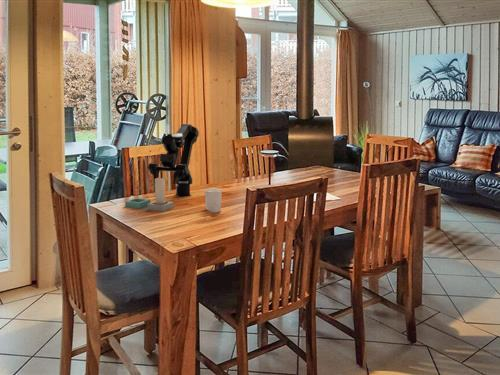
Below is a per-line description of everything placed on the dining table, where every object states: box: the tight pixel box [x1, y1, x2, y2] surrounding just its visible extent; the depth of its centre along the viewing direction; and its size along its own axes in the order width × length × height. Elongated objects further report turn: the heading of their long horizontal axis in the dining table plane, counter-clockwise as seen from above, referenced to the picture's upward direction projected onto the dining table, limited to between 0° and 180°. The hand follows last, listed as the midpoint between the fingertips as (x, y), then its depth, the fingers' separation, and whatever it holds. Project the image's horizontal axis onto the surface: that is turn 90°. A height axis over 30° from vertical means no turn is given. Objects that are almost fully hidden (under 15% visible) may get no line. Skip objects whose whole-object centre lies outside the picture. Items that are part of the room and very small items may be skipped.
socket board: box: [123, 197, 175, 213], centre depth 245 cm, size 22×11×4 cm, turn 66°
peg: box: [154, 177, 166, 205], centre depth 241 cm, size 4×4×14 cm
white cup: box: [204, 187, 223, 214], centre depth 241 cm, size 8×8×10 cm
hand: (164, 183), depth 245 cm, fingers open, 9 cm apart
